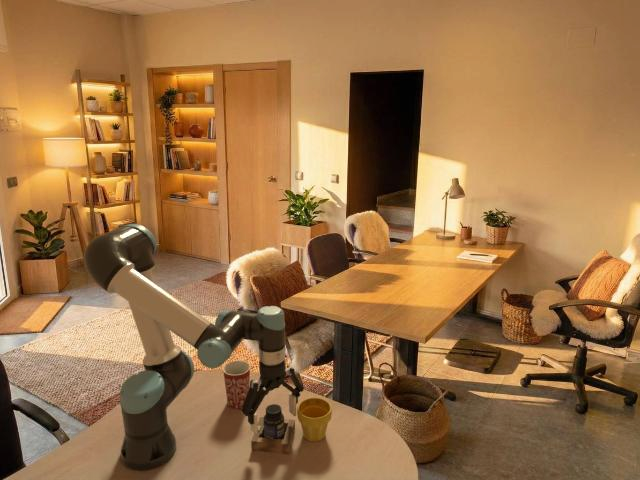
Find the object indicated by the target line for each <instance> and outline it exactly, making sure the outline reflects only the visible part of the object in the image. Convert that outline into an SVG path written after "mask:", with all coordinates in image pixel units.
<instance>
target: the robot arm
mask: <svg viewBox="0 0 640 480" xmlns="http://www.w3.org/2000/svg"><path fill="white" fill-rule="evenodd" d="M156 250H157V240H156V237H155V236H154V234H153V233H152V231H150V230H149V228H147V227H145V226H143V225H142V224H138V223H128V224H125V225H121V226H118V227H116V228H115V229H112V230H110V231H108V232H105V233H102V234H101V235H98V236H96V237H94V238H93V239H91V240H90V242H89V243H88V244H87V245H86V247H85V250H84V253H83V263H84V267H85V270H86V272H87V274H88V276H89V277H90V278H91V279H92V281H93V282H95V284H96V285H98V286H99V287H100V288H101V289H102V290H104V291H106V292H107V294H108V293H109V294H117V295H118V296H120V297H121V298H123V299H125V300H126V301H127V302H128V305H129V308H130V311H131V314H132V317H133V319H134V322H135V326H136V329H137V332H138V334H139V337H140V341H141V343H142V344H141V345H142V347H143V349H144V350H143V351H144V353H145V356H144V357H143V359H142V365H143V368H144V370H143V371H140V372H138V373H134V374H131V376H128V377H127V379H125V381H124V382H123V383H122V385H121V386H120V390H119V404H120V407H121V408H120V409H121V415H122V422H123V429H124V435H123V436H124V437H123V440H122V444H121V448H120V456H121V457H120V458H121V462H122V464H123V465H124V466H125V467H126V468H128V469H129V470H132V471H133V470H135V471H147V470H152V469H155V468H158V467H160V466H162V465H164V464H165V463H167V462H168V461H169V460H170V459H172V457H173V456H174V454H175V453H176V450H177V441H176V440H177V439H176V436H175V434H174V433H173V431H172V429H171V427H170V426H169V423H168V415H167V409H168V407H169V406H170V405H171V404H172V403H173V401H174V400H175V399H177V397H178V396H179V395H180V394H181V392H183V390H185V389H186V388H187V387H188V385H189V384H190V381H192V379H193V376H194V374H195V365H194V361H193V359H192V357H191V356H190V355H189V354H187V352H186V351H184V350H182V348H181V346H179V345H176V344H175V342H174V339H173V336H172V333H173V334H174V335H176V336H177V337H179V339H182V340H183V341H185V342H186V343H187V344H189V346H190V345H191V346H192V347H193V348H194V349H196V350H197V352H196V354H197V356H196V357H197V358H198V360H199V361H200V364H201V365H202V366H204V367H206V368H208V369H217V368H220V367H221V366H223V364H224V363H225V362H226V361H227V360H228V359H230V358H231V356H232V354H233V353H234V352H235V351H236V349H237V348H238V347H239V346H240V344H241V343H242V341H244V340H245V341H246V340H247V341H257V343H258V360H259V362H258V369H259V375H260V376H259V379H257V380H254V379H251V380H250V382H249V391H248V393H247V396H246V399H245V401H244V404H243V407H242V408H240V409H241V410H240V412H241V413H242V414H243V415H244V416H245V417H247V422H248V423H249V425H250V430H251V432H252V433H253V435H254V434H255V435H256V434H258V425H257V424H258V413H256V412H257V411H258V409H259V408H260V405H261V404H262V403H263V401H264V399H265V397H266V396H268V394H269V393H270V392H272V391H273V390H275V389H278V388H280V387H281V385H282V386H283V387H285V389H287V390H288V391H290V392H289V393H288V407H289V408H288V409H289V410H288V411H289V413H290V414H291V415H292V416H293V417H295V416H297V405H299V404H298V403H299V398H300V396H301V393H302V392H304V390H305V389H304V387H303V385H302V383H301V382H300V380H299V379H298V377H297V376H296V371H295V368H294V367H292V366H291V365H289V364H287V365H286V361H287V360H286V321H285V313H284V310H283V309H282V308H280V307H279V306H275V305H270V306H267V305H266V306H263V307H260V308H259V309H258V310H257V313H253V312H245V311H238V310H234V309H233V310H221V311H220V312H219V313H218V314H217V317H216V318H215V322H214V323H215V324H214V323H212V322H211V321H209V320H208V319H206V318H205V317H203V316H202V315H201V314H199V312H197V311H195V310H194V309H192V308H191V307H189V306H188V305H186V304H185V303H184V302H182V301H181V300H179V299H178V298H176V297H175V296H174V295H172V294H170V293H169V292H168V291H167V290H165V289H164V288H162V287H161V286H159V285H158V284H157V283H156V282H155V279H154V276H153V270H155V267H156V264H155V261H154V257H153V256H154V255H155V253H156ZM171 332H172V333H171ZM287 375H288V378H289V379H290V380H291V382H292V383H293V385H294V387H292V386H291V385H290V384H289V383H288V382H287V381H285V378H286V376H287Z"/></svg>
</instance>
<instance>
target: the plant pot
mask: <svg viewBox="0 0 640 480" xmlns="http://www.w3.org/2000/svg"><path fill="white" fill-rule="evenodd" d="M298 403H299V402H298ZM332 409H333V407H332V405H331V403H330V402H329V401H328V400H326V399H325V398H323V397H322V398H321V397H315V396H314V397H308V398H304V399H303V400H301V401H300V403H299V404H297V406H296V416H297V420H298V422H299V423H300V426H301V430H302V434H303V437H304V438H305V439H306V440H307V441H310V442H318V441H322V439H324V437H326V432H327V428H328V425H329V423H330V421H331V420H332V415H333V414H332V413H333V412H332Z"/></svg>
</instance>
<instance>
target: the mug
mask: <svg viewBox="0 0 640 480" xmlns="http://www.w3.org/2000/svg"><path fill="white" fill-rule="evenodd" d="M251 369H252V368H251V364H250V363H249V362H248V361H245V360H232V361H229V362H227V363H225V364H224V365H223V367H222V372H223V380H224V387H225V393H226V394H225V395H226V403H227V405H228V406H229V408H232V409H235V410H239V409H242V407H243V404H244V401H245V399H246V396H247V393H248V391H249V388H250V381H251V380H250V377H251V371H250V370H251Z"/></svg>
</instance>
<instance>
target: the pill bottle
mask: <svg viewBox="0 0 640 480" xmlns="http://www.w3.org/2000/svg"><path fill="white" fill-rule="evenodd" d="M263 417H264V438H270V439H281V440H284V437H285V432H284V419H285V416H284V414H283V412H282V406H281V405H279V404H274V403H273V404H269V405H267V407H265V414H264V415H263Z"/></svg>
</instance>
